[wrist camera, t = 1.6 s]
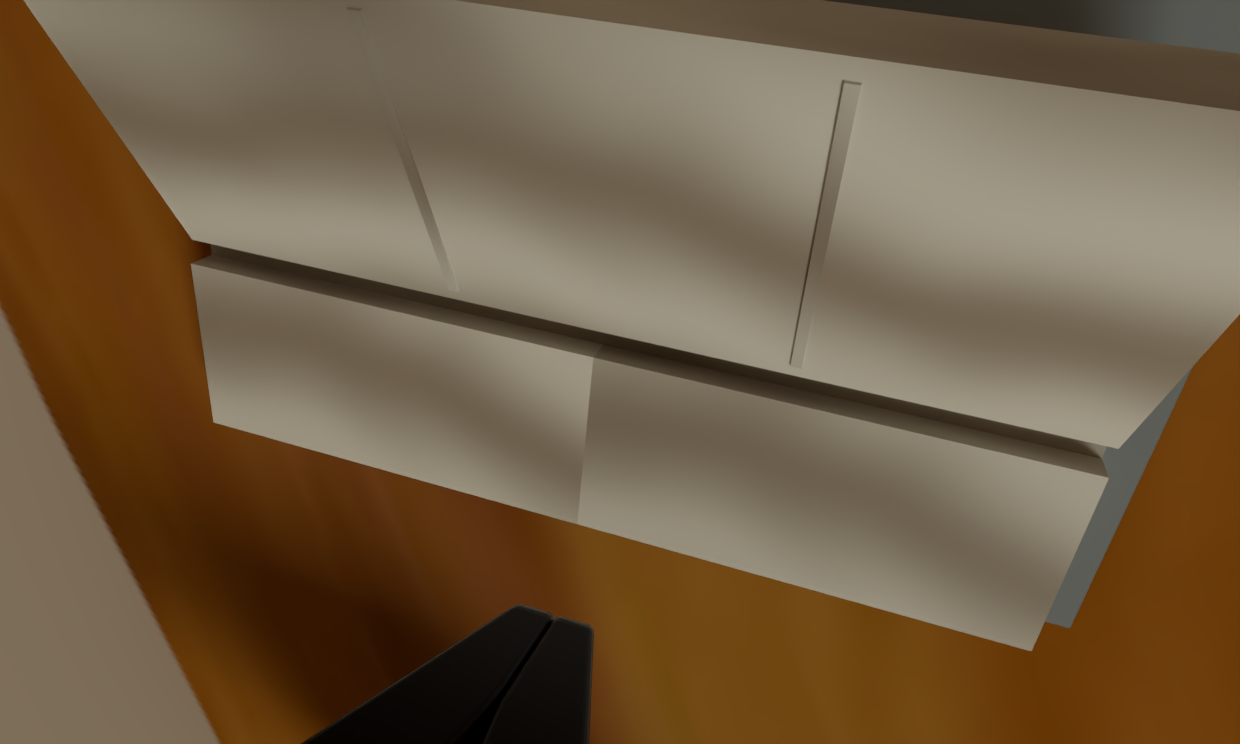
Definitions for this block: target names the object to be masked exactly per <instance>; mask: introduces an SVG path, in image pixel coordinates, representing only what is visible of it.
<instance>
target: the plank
mask: <svg viewBox="0 0 1240 744" xmlns="http://www.w3.org/2000/svg"><path fill="white" fill-rule="evenodd" d="M24 2H25V3H26V5H27V6H28V7H29V9H30V10H31V12H32V13H33V15H34V16H35V17H36V19H37V20H38V22H39V23H40V24H41V26H42V27H43V29H44V30H45V32H46V33H47V34H48V36H49V37H50V39H51V40H52V41H53V43H54V44H55V46H56V47H57V49H58V50H59V51H60V53H61V54H62V56H63V57H64V58H65V60H66V61H67V63H68V64H69V66H70V67H71V68H72V70H73V71H74V73H75V74H76V76H77V77H78V78H79V80H80V81H81V83H82V84H83V85H84V87H85V88H86V90H87V91H88V93H89V94H90V95H91V97H92V98H93V100H94V101H95V102H96V104H97V105H98V107H99V108H100V110H101V111H102V112H103V114H104V115H105V117H106V118H107V119H108V121H109V122H110V124H111V125H112V127H113V128H114V129H115V131H116V132H117V134H118V135H119V137H120V138H121V139H122V141H123V142H124V144H125V145H126V146H127V148H128V149H129V151H130V152H131V154H132V155H133V156H134V158H135V159H136V161H137V162H138V163H139V165H140V166H141V168H142V169H143V171H144V172H145V173H146V175H147V176H148V178H149V179H150V180H151V182H152V183H153V185H154V186H155V188H156V189H157V190H158V192H159V193H160V195H161V196H162V198H163V199H164V200H165V202H166V203H167V205H168V206H169V207H170V209H171V210H172V212H173V213H174V215H175V216H176V217H177V219H178V220H179V222H180V223H181V224H182V226H183V227H184V229H185V230H186V232H187V233H188V234H189V236H190V237H191V239H192V240H196V241H200V242H205V243H209V244H213V245H218V246H222V247H227V248H231V249H236V250H240V251H244V252H249V253H253V254H258V255H262V256H267V257H271V258H275V259H280V260H284V261H289V262H293V263H298V264H302V265H306V266H311V267H315V268H320V269H324V270H329V271H333V272H337V273H342V274H346V275H351V276H355V277H359V278H364V279H368V280H373V281H377V282H382V283H386V284H390V285H395V286H399V287H404V288H408V289H413V290H417V291H421V292H426V293H430V294H435V295H439V296H444V297H448V298H452V299H457V300H461V301H466V302H470V303H475V304H479V305H483V306H488V307H492V308H497V309H501V310H506V311H510V312H514V313H519V314H523V315H528V316H532V317H537V318H541V319H545V320H550V321H554V322H559V323H563V324H568V325H572V326H576V327H581V328H585V329H590V330H594V331H599V332H603V333H607V334H612V335H616V336H621V337H625V338H630V339H634V340H638V341H643V342H647V343H652V344H656V345H661V346H665V347H669V348H674V349H678V350H683V351H687V352H691V353H696V354H700V355H705V356H709V357H714V358H718V359H722V360H727V361H731V362H736V363H740V364H745V365H749V366H753V367H758V368H762V369H767V370H771V371H776V372H780V373H784V374H789V375H793V376H798V377H802V378H807V379H811V380H815V381H820V382H824V383H829V384H833V385H838V386H842V387H846V388H851V389H855V390H860V391H864V392H869V393H873V394H877V395H882V396H886V397H891V398H895V399H900V400H904V401H908V402H913V403H917V404H922V405H926V406H931V407H935V408H939V409H944V410H948V411H953V412H957V413H962V414H966V415H970V416H975V417H979V418H984V419H988V420H993V421H997V422H1001V423H1006V424H1010V425H1015V426H1019V427H1023V428H1028V429H1032V430H1037V431H1041V432H1046V433H1050V434H1054V435H1059V436H1063V437H1068V438H1072V439H1077V440H1081V441H1085V442H1090V443H1094V444H1099V445H1103V446H1108V447H1112V448H1116V449H1119V448H1120V447H1121V446H1122V445H1123V444H1124V442H1125V441H1126V440H1127V439H1128V438H1129V437H1130V436H1131V435H1132V433H1133V432H1134V431H1135V430H1136V429H1137V428H1138V427H1139V426H1140V425H1141V423H1142V422H1143V421H1144V420H1145V419H1146V418H1147V417H1148V416H1149V415H1150V413H1151V412H1152V411H1153V410H1154V409H1155V408H1156V407H1157V406H1158V405H1159V403H1160V402H1161V401H1162V400H1163V399H1164V398H1165V397H1166V396H1167V394H1168V393H1169V392H1170V391H1171V390H1172V389H1173V388H1174V387H1175V386H1176V384H1177V383H1178V382H1179V381H1180V380H1181V379H1182V378H1183V377H1184V376H1185V374H1186V373H1187V372H1188V371H1189V370H1190V369H1191V368H1192V367H1193V366H1194V364H1195V363H1196V362H1197V361H1198V360H1199V359H1200V358H1201V357H1202V355H1203V354H1204V353H1205V352H1206V351H1207V350H1208V349H1209V348H1210V347H1211V345H1212V344H1213V343H1214V342H1215V341H1216V340H1217V339H1218V338H1219V337H1220V335H1221V334H1222V333H1223V332H1224V331H1225V330H1226V329H1227V328H1228V327H1229V325H1230V324H1231V323H1232V322H1233V321H1234V320H1235V319H1236V318H1237V316H1238V315H1239V314H1240V54H1239V53H1231V52H1223V51H1216V50H1208V49H1200V48H1192V47H1184V46H1176V45H1169V44H1161V43H1153V42H1145V41H1137V40H1130V39H1122V38H1114V37H1106V36H1098V35H1090V34H1083V33H1075V32H1067V31H1059V30H1051V29H1043V28H1036V27H1028V26H1020V25H1012V24H1004V23H997V22H989V21H981V20H973V19H965V18H957V17H950V16H942V15H934V14H926V13H918V12H911V11H903V10H895V9H887V8H879V7H871V6H864V5H856V4H848V3H840V2H832V1H824V0H24Z"/></svg>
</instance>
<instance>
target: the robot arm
mask: <svg viewBox="0 0 1240 744" xmlns="http://www.w3.org/2000/svg"><path fill="white" fill-rule="evenodd" d="M593 641H594V631H593V628H592V627H591V626H590V625H588V624H585V623H581V622H578V621H575V620H572V619H568V618H565V617H557V618H556V619H555V618H554V616H553V615H552V614H551V613H549V612H546V611H542V610H539V609H536V608H532V607H529V606H526V605H516V606H513V607H512V608H510V609H508V610H507V611H505V612H504V613H502V614H501V615H499V616H498V617H496V618H494V619H493V620H491V621H490V622H488V623H487V624H485V625H484V626H482V627H481V628H479V629H477V630H476V631H474V632H473V633H471V634H470V635H468V636H467V637H465V638H464V639H462V640H460V641H459V642H457V643H456V644H454V645H453V646H451V647H450V648H448V649H447V650H445V651H443V652H442V653H440V654H439V655H437V656H436V657H434V658H433V659H431V660H430V661H428V662H426V663H425V664H423V665H422V666H420V667H419V668H417V669H416V670H414V671H412V672H411V673H409V674H408V675H406V676H405V677H403V678H402V679H400V680H399V681H397V682H395V683H394V684H392V685H391V686H389V687H388V688H386V689H385V690H383V691H382V692H380V693H378V694H377V695H375V696H374V697H372V698H371V699H369V700H368V701H366V702H365V703H363V704H361V705H360V706H358V707H357V708H355V709H354V710H352V711H351V712H349V713H348V714H346V715H344V716H343V717H341V718H340V719H338V720H337V721H335V722H334V723H332V724H330V725H329V726H327V727H326V728H324V729H323V730H321V731H320V732H318V733H317V734H315V735H313V736H312V737H310V738H309V739H307V740H306V741H304V742H303V743H301V744H589V735H590V712H591V688H592V664H593Z"/></svg>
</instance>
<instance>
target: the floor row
mask: <svg viewBox="0 0 1240 744" xmlns="http://www.w3.org/2000/svg"><path fill="white" fill-rule="evenodd" d="M210 245H211V253H212V255H210V256H208V257H205V258H203V259H201V260H198V261H196V262H194V263H191V268H192V275H193V282H194V289H195V296H196V303H197V310H198V317H199V324H200V331H201V338H202V345H203V352H204V359H205V366H206V373H207V380H208V387H209V394H210V401H211V408H212V415H213V422H214V423H218V424H221V425H225V426H228V427H232V428H236V429H239V430H243V431H246V432H250V433H253V434H257V435H261V436H264V437H268V438H271V439H275V440H278V441H282V442H286V443H289V444H293V445H296V446H300V447H303V448H307V449H311V450H314V451H318V452H321V453H325V454H328V455H332V456H336V457H339V458H343V459H346V460H350V461H353V462H357V463H361V464H364V465H368V466H371V467H375V468H378V469H382V470H386V471H389V472H393V473H396V474H400V475H403V476H407V477H411V478H414V479H418V480H421V481H425V482H428V483H432V484H436V485H439V486H443V487H446V488H450V489H453V490H457V491H461V492H464V493H468V494H471V495H475V496H478V497H482V498H486V499H489V500H493V501H496V502H500V503H503V504H507V505H511V506H514V507H518V508H521V509H525V510H528V511H532V512H536V513H539V514H543V515H546V516H550V517H553V518H557V519H561V520H564V521H568V522H571V523H575V524H578V525H582V526H586V527H589V528H593V529H596V530H600V531H603V532H607V533H611V534H614V535H618V536H621V537H625V538H628V539H632V540H636V541H639V542H643V543H646V544H650V545H653V546H657V547H661V548H664V549H668V550H671V551H675V552H678V553H682V554H686V555H689V556H693V557H696V558H700V559H703V560H707V561H711V562H714V563H718V564H721V565H725V566H728V567H732V568H736V569H739V570H743V571H746V572H750V573H753V574H757V575H760V576H764V577H768V578H771V579H775V580H778V581H782V582H785V583H789V584H793V585H796V586H800V587H803V588H807V589H810V590H814V591H818V592H821V593H825V594H828V595H832V596H835V597H839V598H843V599H846V600H850V601H853V602H857V603H860V604H864V605H868V606H871V607H875V608H878V609H882V610H885V611H889V612H893V613H896V614H900V615H903V616H907V617H910V618H914V619H918V620H921V621H925V622H928V623H932V624H935V625H939V626H943V627H946V628H950V629H953V630H957V631H960V632H964V633H968V634H971V635H975V636H978V637H982V638H985V639H989V640H993V641H996V642H1000V643H1003V644H1007V645H1010V646H1014V647H1018V648H1021V649H1025V650H1028V651H1032V649H1033V647H1034V644H1035V642H1036V640H1037V638H1038V635H1039V633H1040V631H1041V629H1042V626H1043V624H1044V622H1045V620H1046V618H1047V615H1048V613H1049V611H1050V609H1051V606H1052V604H1053V602H1054V600H1055V597H1056V595H1057V593H1058V591H1059V589H1060V586H1061V584H1062V582H1063V580H1064V577H1065V575H1066V573H1067V571H1068V568H1069V566H1070V564H1071V562H1072V560H1073V557H1074V555H1075V553H1076V551H1077V548H1078V546H1079V544H1080V542H1081V539H1082V537H1083V535H1084V533H1085V531H1086V528H1087V526H1088V524H1089V522H1090V519H1091V517H1092V515H1093V513H1094V511H1095V508H1096V506H1097V504H1098V502H1099V499H1100V497H1101V495H1102V493H1103V490H1104V488H1105V486H1106V484H1107V482H1108V479H1109V476H1108V474H1107V471H1106V468H1105V466H1104V463H1103V460H1102V457H1103V455H1104V453H1105V450H1106V448H1107V446H1103V445H1099V444H1094V443H1090V442H1085V441H1081V440H1077V439H1072V438H1068V437H1063V436H1059V435H1054V434H1050V433H1046V432H1041V431H1037V430H1032V429H1028V428H1023V427H1019V426H1015V425H1010V424H1006V423H1001V422H997V421H993V420H988V419H984V418H979V417H975V416H970V415H966V414H962V413H957V412H953V411H948V410H944V409H939V408H935V407H931V406H926V405H922V404H917V403H913V402H908V401H904V400H900V399H895V398H891V397H886V396H882V395H877V394H873V393H869V392H864V391H860V390H855V389H851V388H846V387H842V386H838V385H833V384H829V383H824V382H820V381H815V380H811V379H807V378H802V377H798V376H793V375H789V374H784V373H780V372H776V371H771V370H767V369H762V368H758V367H753V366H749V365H745V364H740V363H736V362H731V361H727V360H722V359H718V358H714V357H709V356H705V355H700V354H696V353H691V352H687V351H683V350H678V349H674V348H669V347H665V346H661V345H656V344H652V343H647V342H643V341H638V340H634V339H630V338H625V337H621V336H616V335H612V334H607V333H603V332H599V331H594V330H590V329H585V328H581V327H576V326H572V325H568V324H563V323H559V322H554V321H550V320H545V319H541V318H537V317H532V316H528V315H523V314H519V313H514V312H510V311H506V310H501V309H497V308H492V307H488V306H483V305H479V304H475V303H470V302H466V301H461V300H457V299H452V298H448V297H444V296H439V295H435V294H430V293H426V292H421V291H417V290H413V289H408V288H404V287H399V286H395V285H390V284H386V283H382V282H377V281H373V280H368V279H364V278H359V277H355V276H351V275H346V274H342V273H337V272H333V271H329V270H324V269H320V268H315V267H311V266H306V265H302V264H298V263H293V262H289V261H284V260H280V259H275V258H271V257H267V256H262V255H258V254H253V253H249V252H244V251H240V250H236V249H231V248H227V247H222V246H218V245H213V244H210Z"/></svg>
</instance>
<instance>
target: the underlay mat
mask: <svg viewBox="0 0 1240 744" xmlns="http://www.w3.org/2000/svg"><path fill="white" fill-rule="evenodd" d="M824 1H832V2H840V3H848V4H856V5H864V6H871V7H879V8H887V9H895V10H903V11H911V12H918V13H926V14H934V15H942V16H950V17H957V18H965V19H973V20H981V21H989V22H997V23H1004V24H1012V25H1020V26H1028V27H1036V28H1043V29H1051V30H1059V31H1067V32H1075V33H1083V34H1090V35H1098V36H1106V37H1114V38H1122V39H1130V40H1137V41H1145V42H1153V43H1161V44H1169V45H1176V46H1184V47H1192V48H1200V49H1208V50H1216V51H1223V52H1231V53H1239V54H1240V0H824ZM1191 369H1192V368H1191ZM1191 369H1190V370H1189V371H1188V372H1187V373H1186V374H1185V376H1184V377H1183V378H1182V379H1181V380H1180V381H1179V382H1178V383H1177V384H1176V386H1175V387H1174V388H1173V389H1172V390H1171V391H1170V392H1169V393H1168V394H1167V396H1166V397H1165V398H1164V399H1163V400H1162V401H1161V402H1160V403H1159V405H1158V406H1157V407H1156V408H1155V409H1154V410H1153V411H1152V412H1151V413H1150V415H1149V416H1148V417H1147V418H1146V419H1145V420H1144V421H1143V422H1142V423H1141V425H1140V426H1139V427H1138V428H1137V429H1136V430H1135V431H1134V432H1133V433H1132V435H1131V436H1130V437H1129V438H1128V439H1127V440H1126V441H1125V442H1124V444H1123V445H1122V446H1121V447H1120V448H1119V449H1116V448H1112V447H1108V446H1107V448H1106V450H1105V453H1104V455H1103V457H1102V460H1103V463H1104V466H1105V468H1106V471H1107V474H1108V476H1109V479H1108V482H1107V484H1106V486H1105V488H1104V490H1103V493H1102V495H1101V497H1100V499H1099V502H1098V504H1097V506H1096V508H1095V511H1094V513H1093V515H1092V517H1091V519H1090V522H1089V524H1088V526H1087V528H1086V531H1085V533H1084V535H1083V537H1082V539H1081V542H1080V544H1079V546H1078V548H1077V551H1076V553H1075V555H1074V557H1073V560H1072V562H1071V564H1070V566H1069V568H1068V571H1067V573H1066V575H1065V577H1064V580H1063V582H1062V584H1061V586H1060V589H1059V591H1058V593H1057V595H1056V597H1055V600H1054V602H1053V604H1052V606H1051V609H1050V611H1049V613H1048V615H1047V618H1046V620H1045V622H1049V623H1052V624H1056V625H1060V626H1063V627H1067V628H1070V627H1071V625H1072V623H1073V620H1074V618H1075V616H1076V614H1077V612H1078V610H1079V608H1080V606H1081V603H1082V601H1083V599H1084V597H1085V595H1086V593H1087V591H1088V588H1089V586H1090V584H1091V582H1092V580H1093V578H1094V576H1095V574H1096V571H1097V569H1098V567H1099V565H1100V563H1101V561H1102V559H1103V556H1104V554H1105V552H1106V550H1107V548H1108V546H1109V544H1110V542H1111V539H1112V537H1113V535H1114V533H1115V531H1116V529H1117V527H1118V525H1119V522H1120V520H1121V518H1122V516H1123V514H1124V512H1125V510H1126V507H1127V505H1128V503H1129V501H1130V499H1131V497H1132V495H1133V493H1134V490H1135V488H1136V486H1137V484H1138V482H1139V480H1140V478H1141V476H1142V473H1143V471H1144V469H1145V467H1146V465H1147V463H1148V461H1149V458H1150V456H1151V454H1152V452H1153V450H1154V448H1155V446H1156V444H1157V441H1158V439H1159V437H1160V435H1161V433H1162V431H1163V429H1164V427H1165V424H1166V422H1167V420H1168V418H1169V416H1170V414H1171V412H1172V409H1173V407H1174V405H1175V403H1176V401H1177V399H1178V397H1179V395H1180V392H1181V390H1182V388H1183V386H1184V384H1185V382H1186V380H1187V377H1188V375H1189V373H1190V371H1191Z"/></svg>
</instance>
